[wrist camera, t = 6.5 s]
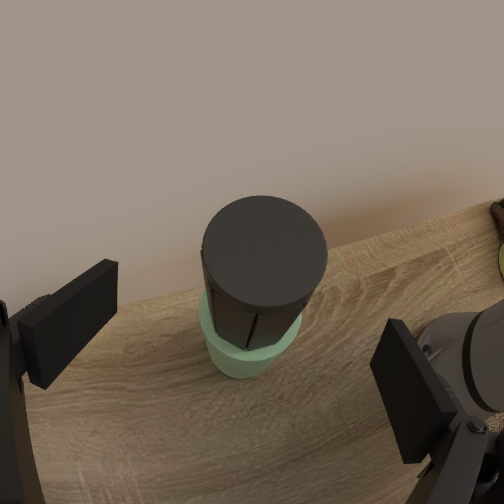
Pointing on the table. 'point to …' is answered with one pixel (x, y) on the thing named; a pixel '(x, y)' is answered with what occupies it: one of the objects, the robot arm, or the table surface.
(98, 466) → the table surface
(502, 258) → the mat
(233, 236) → the cap
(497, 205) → the dark brown looped block
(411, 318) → the table surface
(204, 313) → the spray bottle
